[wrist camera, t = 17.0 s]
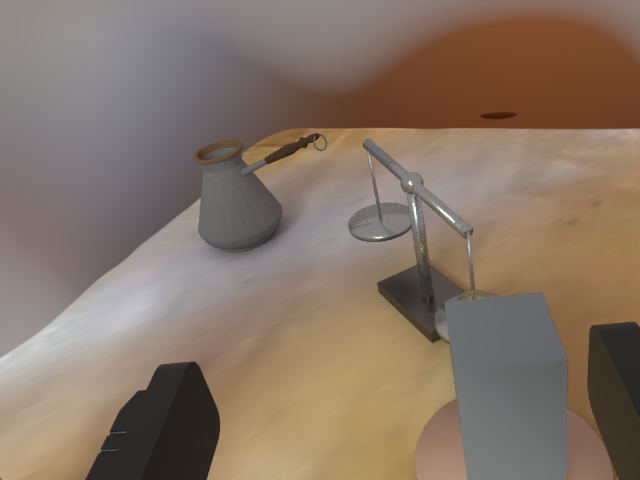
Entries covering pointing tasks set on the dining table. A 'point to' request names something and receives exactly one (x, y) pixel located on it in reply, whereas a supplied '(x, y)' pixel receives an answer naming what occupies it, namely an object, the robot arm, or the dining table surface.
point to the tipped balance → (421, 280)
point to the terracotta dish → (448, 458)
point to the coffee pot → (238, 195)
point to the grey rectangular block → (509, 387)
